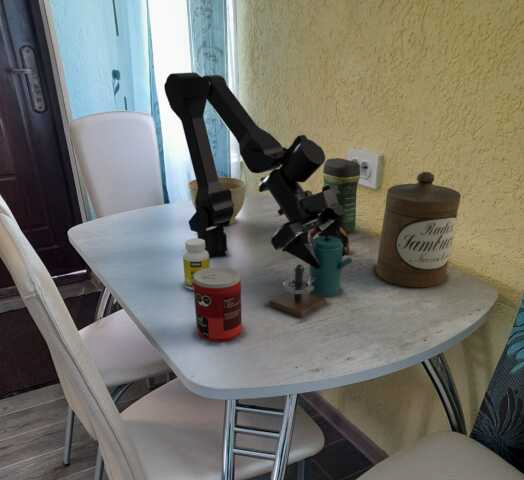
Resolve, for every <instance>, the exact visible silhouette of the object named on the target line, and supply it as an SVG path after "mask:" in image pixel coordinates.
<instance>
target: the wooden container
mask: <svg viewBox="0 0 524 480" xmlns="http://www.w3.org/2000/svg"><path fill="white" fill-rule="evenodd" d="M416 180H417V182H416V183H402V184H395V185H393V186H390V187H388V189H387V191H386V192H387V193H386V198H385V207H384V215H383V221H382V226H381V233H380V239H379V245H378V252H377V253H378V254H377V261H376V270H375V271H376V272H375V273H376V274H377V276H379V278H380V279H382V280H384V281H385V282H388V283H390V284H394V285H397V286H402V287H408V288H429V287H433V286H436V285H439V284H441V283H442V282H443V281H444V280H445V277H446V272H447V269H448V263H449V258H450V254H451V252H452V251H451V250H452V246H453V239H454V233H455V228H456V224H457V217H458V211H459V207H460V202H461V198H462V197H461V196H462V195H461V193H460V192H459V191H457V190H455V189H453V188H450V187H447V186H442V185H437V184H433V182H434V181H435V175H434V174H433V173H432V172H430V171H422V172H421V173H419V174H418V175H417V176H416Z"/></svg>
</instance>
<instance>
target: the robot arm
mask: <svg viewBox="0 0 524 480" xmlns="http://www.w3.org/2000/svg"><path fill="white" fill-rule="evenodd" d="M163 87H164V93H165V96H166V99H167V102H168V104H169V106H170V109H171V110H172V112H173V113H174V114H175V115H176V116H177V118H178V119H179V120H180V123H181V125H182V129H183V134H184V138H185V142H186V145H187V149H188V153H189V157H190V161H191V166H192V169H193V173H194V176H195V179H196V181H197V185H198V190H197V194H196V198H195V206H196V209H195V213H194V214H193V215H192V217H191V218H190V219H189V220H188V226H189V229H190V231H191V232H195V233H196V238H197V239H203V240H204V241H205V249H204V250H206V251H207V252H208V253H209V258H216V257H226V256H227V252H228V240H227V238H228V236H227V232H225V227H229V226H230V225H231V224H230V220H231V217H232V215H233V213H234V210H233V207H234V206H235V205H234V203H233V201H232V196H231V191H230V189H224V188H223V187H222V185H221V184H220V183H219V180H218V177H219V176H218V171H217V167H216V164H215V163H216V162H215V160H214V155H213V151H212V145H211V142H210V138H209V133H208V130H207V125H206V122H205V117H204V114H205V110H206V106H207V102H208V103H209V104H210V105H211V107H212V108H213V110H214V111H215V112H216V114H217V115H218V117H219V118H220V119H221V121H222V122H223V123H224V125H225V126H226V128H227V129H228V130H229V131H230V133H231V134H232V136H233V137H234V138H235V140H236V141H237V143H238V150H239V155H240V157H241V159H242V160H243V162H244V164H245V166H246V168H247V169H248V171H249V172H251V173H253V174H261V173H266V172H269V171H270V172H269V174H268V175H266V176H263V177H260V178H259V180H260V183H259V186H258V192H259V193H263V192H266V191H269V192H270V194H271V196H272V197H273V199H274V200H275V203H276V204H277V205H278V207H279V209H278V210H277V214H278V215H279V216H283V215H284V217H285V218H286V219H287V222H285V223H283V224H282V225H281V226H280V227H279V228H278V229H276V231H275V232H273V234H272V235H271V236H270V243H271V245H272V247H273V248H274V250H275V251H278V250H281V251H282V252H283V253H284V252H287V253H288V254H290V255H292V256H293V257H295V258H298V259H300V260H301V261H303V262H304V263H305V264H308V265H309V266H310V265H311V266H313V267H314V268H316V269H319V268H320V267H321V264H320V262H319V260H318V258H317V256H316V254H315V253H314V251H313V249H312V247H311V245H310V241H309V232H310V231H312V230H313V229H314V228H316V230H318V231H319V233H317V234H318V237H320V236H326V235H329V236H332V237H336V238H339V239H340V240H341V243H342V244H343V241H342V237H341V232H340V225H341V221H342V220H343V218H344V217H343V216H344V215H345V214H346V212H345V210H344V208H343V207H342V205H338V204H339V203H338V198H339V196H340V191H338V189H337V188H336V186H335V185H334V184H333V183H331V184H328V185H326V186H324V185H323V186H322V187H321V191H319V192H317V193H314V194H313V193H312V191H311V190H309V189H307V190H304V188H302V186H301V184H300V183H306V182H307V181H308V180H309V179H310V178H311V177H312V176H313V175H314V174H315V172H316V171H318V169H319V168H320V167H321V166H322V165H324V164H325V162H326V154H325V152H324V150H323V148H322V147H321V146H320V145H318V143H316V142H315V141H313V140H311V139H309V138H308V137H307V135H305V134H300V135H297V136H296V137H295V138H294V140H293V142H292V144H291V145H289V147H288V148H287V147H285V146H282V143H280V142H279V141H278V140H277V139H276V138H275V137H274V136H273V135H272V134H271V133H269V132H267V131H266V130H264V129H263V128H260V127H259V126H258V124H256V122H255V121H254V119H253V118H252V117H251V116H250V114H249V113H248V112H247V110H246V109H245V107H244V106H243V105H242V104H241V102H240V101H239V100H238V98H237V97H236V96H235V94H234V92H233V91H232V90H231V88H230V87H229V86H228V85H227V81H226V79H225V78H224V76H221V75H220V74H209V75H203V76H202V75H200V74H198V73H197V72H195V71H193V72H176V73H175V72H174V73H170V74H169V75H168V76H167V77H166V80H165V82H164V86H163ZM331 205H333V206H331ZM324 209H325V210H324ZM346 254H347V253H346V248H345V247H344V245H343V254H342V258H343V257H344V256H346Z"/></svg>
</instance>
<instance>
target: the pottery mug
mask: <svg viewBox="0 0 524 480" xmlns="http://www.w3.org/2000/svg"><path fill="white" fill-rule="evenodd" d="M340 232H341V237H342V241H343V245H344V249H346V252H347V253H346V254H347V255H350V253H351V249H350V245H351V244H350V241H349V237H348V234H346V232H345V231H344V230H343V229H342V228H341V227H340ZM319 233H320V231H318V230H316V228H314V229H312V230H310V231H309V235H310V236H308V241H309V244H310V245H311V243H312V242H313V241H314V239H315V237H316V235H317V234H319Z"/></svg>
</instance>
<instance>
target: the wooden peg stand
mask: <svg viewBox="0 0 524 480" xmlns="http://www.w3.org/2000/svg"><path fill="white" fill-rule="evenodd" d="M304 272H305V267H304V265H302V264H296V265H295V266H294V279H295V284H294V288H295V289H303V285H304V284H303V279H304ZM326 304H327V298H325V297H322V296H317V295H315V294H312V293H310V292H309V293H307V294H292V293H290V292H287V291H285V292H283V293H281V294H279V295H276V296H275V297H273V298H271V299H269V304H268V305H269V306H270V307H271V308H275V309H277V310H280V311H283V312H285V313H287V314H289V315H293V316H295V317H298V318H301V319H303V318H304V317H307V316H308V315H309V314H312V313H313V312H315V311H317V310H318V309H320V308H322V307H324V306H325V305H326Z"/></svg>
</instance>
